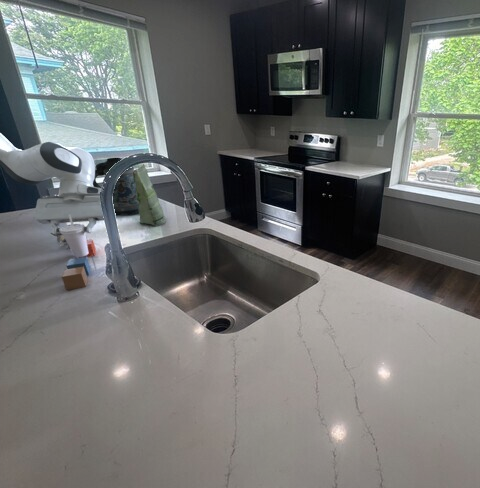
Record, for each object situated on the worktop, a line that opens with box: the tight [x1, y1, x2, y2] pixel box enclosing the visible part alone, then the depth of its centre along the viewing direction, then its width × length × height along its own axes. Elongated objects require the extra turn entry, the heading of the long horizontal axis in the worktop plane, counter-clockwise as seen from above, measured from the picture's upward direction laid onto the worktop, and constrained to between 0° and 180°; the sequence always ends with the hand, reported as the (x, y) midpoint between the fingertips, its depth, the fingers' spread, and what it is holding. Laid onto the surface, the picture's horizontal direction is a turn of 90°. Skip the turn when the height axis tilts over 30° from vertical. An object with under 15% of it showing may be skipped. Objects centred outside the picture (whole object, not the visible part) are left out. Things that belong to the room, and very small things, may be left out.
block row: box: [61, 238, 97, 291], centre depth 95 cm, size 4×26×4 cm, turn 29°
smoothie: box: [59, 214, 89, 258], centre depth 95 cm, size 6×6×14 cm
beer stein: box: [93, 157, 140, 217], centre depth 139 cm, size 16×19×25 cm
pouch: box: [133, 163, 167, 227], centre depth 128 cm, size 11×12×25 cm
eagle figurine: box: [50, 232, 71, 250], centre depth 109 cm, size 8×7×9 cm
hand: (73, 233), depth 94 cm, fingers closed on smoothie, 6 cm apart
